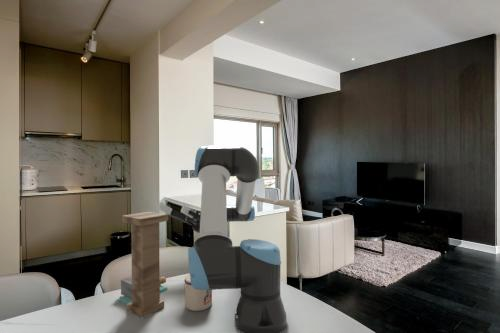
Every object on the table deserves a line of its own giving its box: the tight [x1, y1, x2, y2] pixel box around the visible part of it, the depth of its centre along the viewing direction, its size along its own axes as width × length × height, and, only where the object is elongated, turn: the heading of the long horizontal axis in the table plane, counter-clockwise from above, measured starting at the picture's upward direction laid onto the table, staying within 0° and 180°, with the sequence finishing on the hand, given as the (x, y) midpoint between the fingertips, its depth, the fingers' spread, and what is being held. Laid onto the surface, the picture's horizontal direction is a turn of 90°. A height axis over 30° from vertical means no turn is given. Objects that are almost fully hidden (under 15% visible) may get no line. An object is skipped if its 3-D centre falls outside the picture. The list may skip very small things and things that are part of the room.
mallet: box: [120, 275, 167, 299], centre depth 107 cm, size 15×8×5 cm, turn 143°
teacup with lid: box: [184, 273, 213, 312], centre depth 99 cm, size 12×9×12 cm
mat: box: [119, 284, 168, 305], centre depth 105 cm, size 6×15×1 cm, turn 144°
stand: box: [121, 211, 169, 318], centre depth 95 cm, size 10×10×30 cm
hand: (170, 206), depth 116 cm, fingers open, 13 cm apart
